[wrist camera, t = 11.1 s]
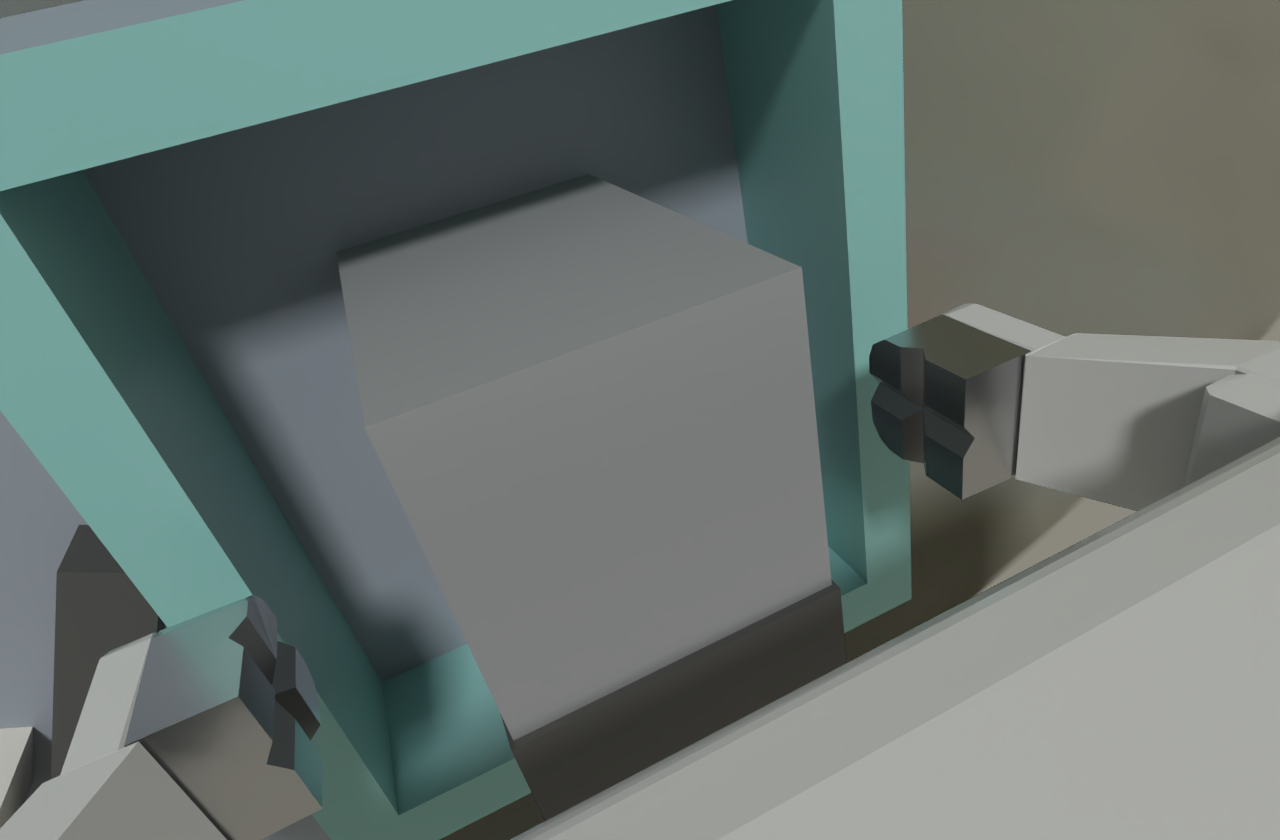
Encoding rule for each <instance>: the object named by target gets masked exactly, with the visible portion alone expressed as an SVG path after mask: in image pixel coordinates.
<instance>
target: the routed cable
mask: <svg viewBox="0 0 1280 840" xmlns="http://www.w3.org/2000/svg"><path fill="white" fill-rule="evenodd" d="M163 629H165V624H164V622H163V621H162V620H161V619H160V617H159V616H158V615H157V613H156V612H155V611H154V609H153V608H152V607H151V606H150V604H149V603H148V602H147V600H146V599H145V598H144V596H143V595H142V594H141V593H140V591H139V590H138V589H137V587H136V586H135V585H134V583H133V582H132V581H131V580H130V578H129V577H128V576H127V574H126V573H125V572H124V570H123V569H122V568H121V567H120V565H119V564H118V563H117V561H116V560H115V559H114V558H113V556H112V555H111V554H110V552H109V551H108V550H107V548H106V547H105V546H104V545H103V543H102V542H101V541H100V539H99V538H98V537H97V535H96V534H95V533H94V532H93V530H92V529H91V528H90V526H89V525H79V526H78V528H77V530H76V532H75V534H74V536H73V538H72V541H71V543H70V545H69V547H68V549H67V551H66V553H65V555H64V558H63V560H62V562H61V564H60V566H59V568H58V570H57V577H56V613H55V649H54V685H53V720H52V756H51V779H53V778H56V777H58V776H60V774H61V771H62V768H63V765H64V762H65V759H66V756H67V753H68V750H69V747H70V745H71V742H72V739H73V736H74V733H75V730H76V727H77V724H78V721H79V718H80V715H81V712H82V709H83V706H84V703H85V700H86V697H87V694H88V691H89V688H90V685H91V682H92V679H93V677H94V674H95V671H96V668H97V665H98V662H99V660H100V658H101V657H103V656H104V655H105V654H107V653H108V652H109V651H111V650H113V649H116V648H118V647H120V646H123V645H125V644H128V643H130V642H132V641H135V640H137V639H140V638H142V637H144V636H147V635H149V634H152V633H158V632H159V631H160V630H163Z"/></svg>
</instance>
